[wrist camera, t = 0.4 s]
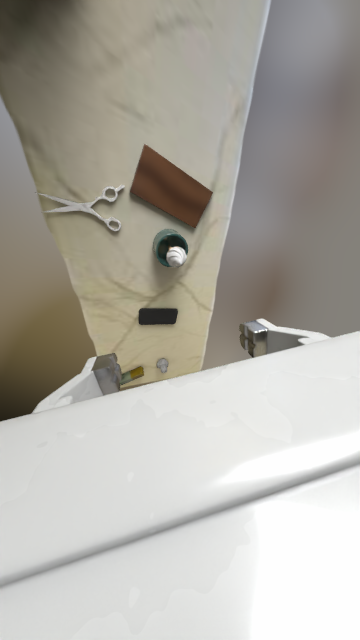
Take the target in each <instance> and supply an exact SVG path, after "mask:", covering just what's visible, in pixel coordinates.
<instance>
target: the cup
mask: <svg viewBox="0 0 360 640" xmlns="http://www.w3.org/2000/svg"><path fill="white" fill-rule="evenodd" d="M168 245H170V246H171V247H181V248H182V249H183V250H185V253H186V255H187V253H188V245H187V243H186V240H185V239H184V238H183V237H182V236H181V235H180V234H179V233H178V232H177V231H175V230H172V229H165V230H162V231H161V232H159V233H158V234H157V235H156V237H155V239H154V242H153V249H154V252H155V254H156V256H157V258H158V260H159V262H160V263H161V264H163V265H164V266H167V267H172V266H170V265H169V263H168V261H167V253H168V251H169V249H168Z"/></svg>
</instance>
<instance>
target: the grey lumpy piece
mask: <svg viewBox="0 0 360 640" xmlns="http://www.w3.org/2000/svg"><path fill="white" fill-rule="evenodd" d="M157 367H158V368H160V369H161V372H162V373H163V372H164V373H165V372H167V367H168V362H167V361H166V359H160V360H159V361H158V362H157Z"/></svg>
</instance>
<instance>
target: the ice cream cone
mask: <svg viewBox="0 0 360 640" xmlns="http://www.w3.org/2000/svg"><path fill="white" fill-rule="evenodd" d="M168 249H169V251H168V253H167V261H168V263H169V265H170V266H172V267H180V266H182V265H183V264H184V263H185V261H186V257H187V255H186V253H185V250H183V249H182V248H181V247H171V246H170V245H168Z"/></svg>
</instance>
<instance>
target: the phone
mask: <svg viewBox="0 0 360 640" xmlns="http://www.w3.org/2000/svg"><path fill="white" fill-rule="evenodd" d="M177 314H178V311H177V309H140V310H139V324H141V325H154V324H175V322H176V318H177Z"/></svg>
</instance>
